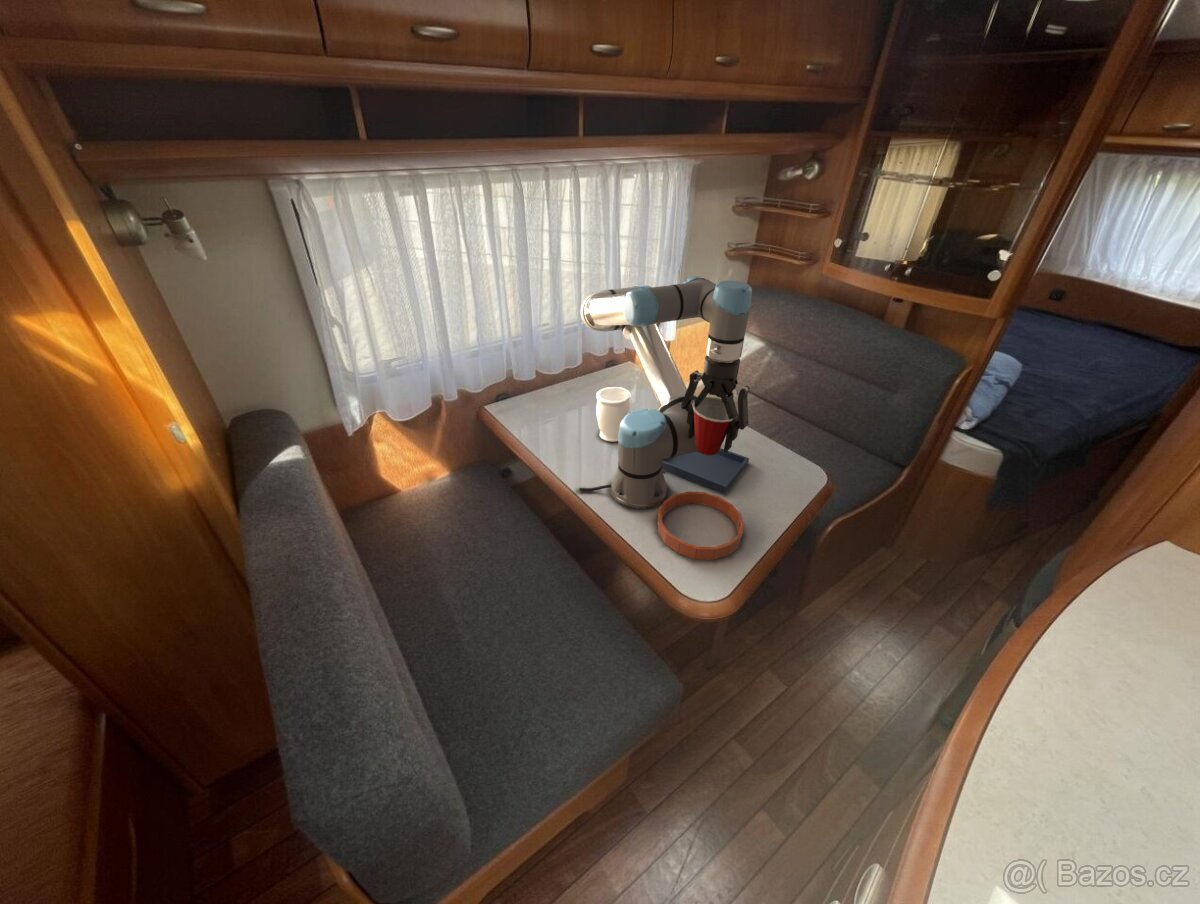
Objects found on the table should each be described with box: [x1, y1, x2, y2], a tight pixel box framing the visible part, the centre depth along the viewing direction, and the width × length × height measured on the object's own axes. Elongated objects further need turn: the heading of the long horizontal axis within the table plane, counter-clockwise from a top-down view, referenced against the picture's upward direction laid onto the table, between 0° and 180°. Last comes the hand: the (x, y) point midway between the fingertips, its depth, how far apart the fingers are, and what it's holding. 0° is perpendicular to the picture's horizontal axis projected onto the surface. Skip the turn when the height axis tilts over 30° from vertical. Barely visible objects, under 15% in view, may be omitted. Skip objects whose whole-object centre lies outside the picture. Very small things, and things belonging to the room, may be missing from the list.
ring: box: [656, 491, 745, 561], centre depth 119 cm, size 21×21×4 cm
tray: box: [662, 447, 750, 495], centre depth 141 cm, size 22×17×3 cm
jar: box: [595, 386, 631, 443], centre depth 151 cm, size 11×10×15 cm
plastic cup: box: [692, 396, 738, 455], centre depth 115 cm, size 11×11×12 cm
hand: (709, 442), depth 117 cm, fingers closed on plastic cup, 9 cm apart
